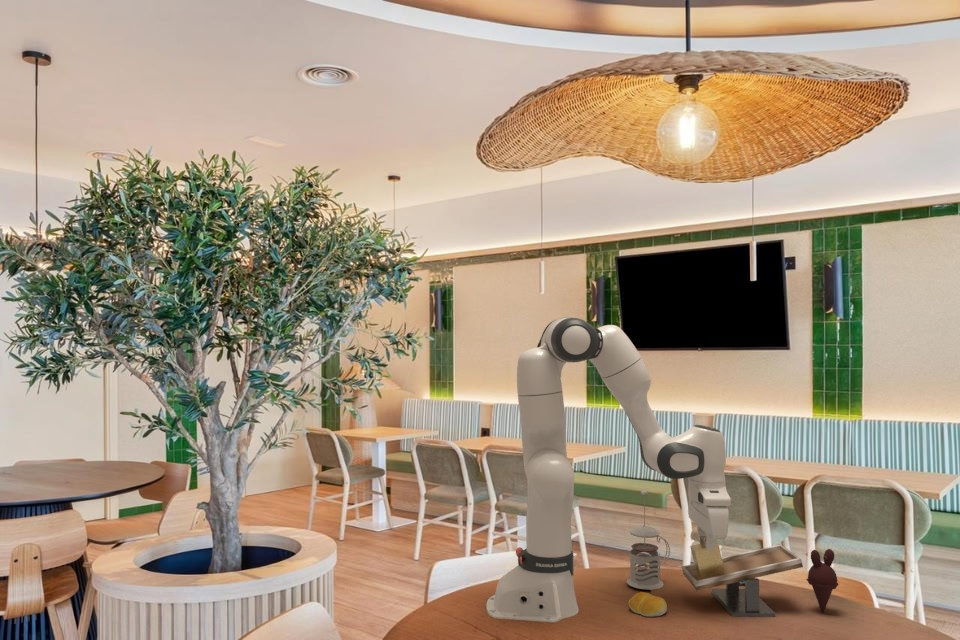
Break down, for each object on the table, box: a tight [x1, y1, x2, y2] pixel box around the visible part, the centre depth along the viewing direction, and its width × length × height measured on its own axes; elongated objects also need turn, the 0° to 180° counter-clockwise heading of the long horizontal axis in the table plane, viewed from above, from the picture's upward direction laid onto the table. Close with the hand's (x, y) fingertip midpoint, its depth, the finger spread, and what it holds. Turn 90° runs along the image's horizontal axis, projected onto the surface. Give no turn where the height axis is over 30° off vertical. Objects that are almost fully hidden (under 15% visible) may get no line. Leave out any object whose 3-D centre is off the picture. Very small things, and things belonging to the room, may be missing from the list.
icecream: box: [806, 548, 839, 613], centre depth 169 cm, size 7×7×15 cm
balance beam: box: [681, 544, 804, 592], centre depth 174 cm, size 26×12×3 cm, turn 89°
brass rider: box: [689, 542, 725, 579], centre depth 174 cm, size 6×4×7 cm, turn 89°
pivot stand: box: [711, 577, 777, 618], centre depth 174 cm, size 10×16×9 cm, turn 179°
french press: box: [626, 489, 671, 590], centre depth 190 cm, size 10×12×25 cm
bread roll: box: [628, 591, 668, 618], centre depth 169 cm, size 8×9×4 cm
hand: (706, 547), depth 174 cm, fingers open, 4 cm apart
